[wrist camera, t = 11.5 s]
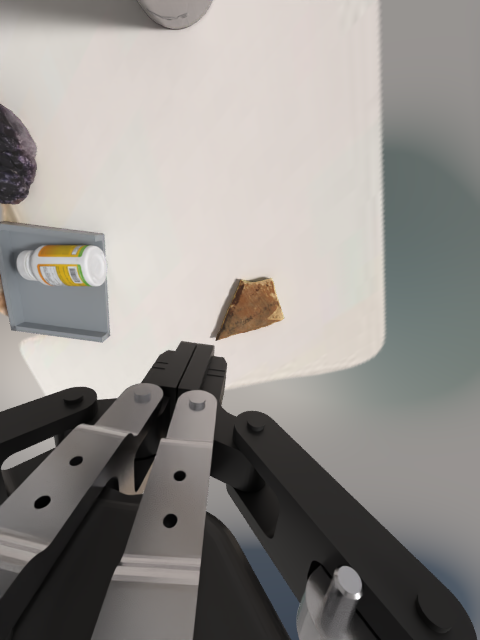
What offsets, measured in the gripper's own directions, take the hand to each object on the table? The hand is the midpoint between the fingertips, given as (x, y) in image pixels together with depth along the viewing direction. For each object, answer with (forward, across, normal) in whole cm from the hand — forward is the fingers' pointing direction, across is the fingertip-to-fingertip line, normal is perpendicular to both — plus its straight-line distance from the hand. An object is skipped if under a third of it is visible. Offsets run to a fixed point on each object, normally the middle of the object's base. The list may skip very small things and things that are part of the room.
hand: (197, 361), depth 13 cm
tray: (+29, +26, +7) cm, 40 cm away
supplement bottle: (+26, +18, +3) cm, 32 cm away
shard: (+30, -3, +8) cm, 31 cm away
